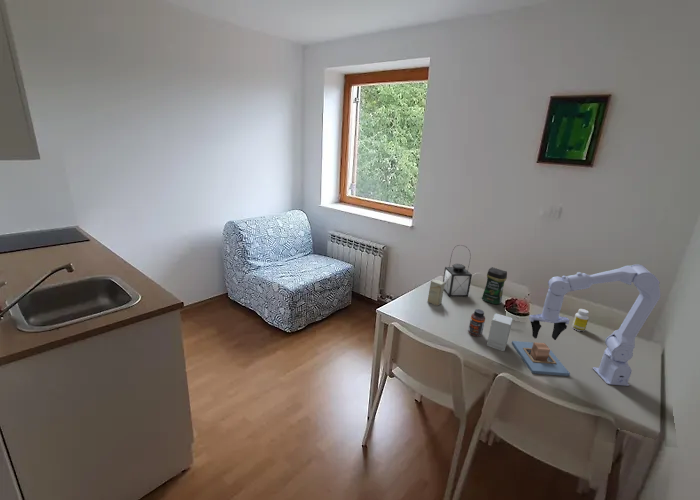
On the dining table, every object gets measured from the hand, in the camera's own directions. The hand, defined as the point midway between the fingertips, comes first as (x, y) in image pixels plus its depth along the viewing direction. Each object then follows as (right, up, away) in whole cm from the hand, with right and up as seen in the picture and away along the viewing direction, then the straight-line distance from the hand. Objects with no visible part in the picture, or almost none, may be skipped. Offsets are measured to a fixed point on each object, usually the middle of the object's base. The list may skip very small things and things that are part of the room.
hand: (544, 337), depth 141 cm
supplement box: (-14, -6, +11) cm, 19 cm away
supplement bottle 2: (+31, -3, +28) cm, 42 cm away
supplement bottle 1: (-21, -3, +19) cm, 28 cm away
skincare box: (-33, +7, +46) cm, 56 cm away
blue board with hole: (-1, -9, +3) cm, 10 cm away
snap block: (-1, -9, +3) cm, 10 cm away
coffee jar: (0, +7, +51) cm, 52 cm away
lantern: (-18, +11, +60) cm, 63 cm away
